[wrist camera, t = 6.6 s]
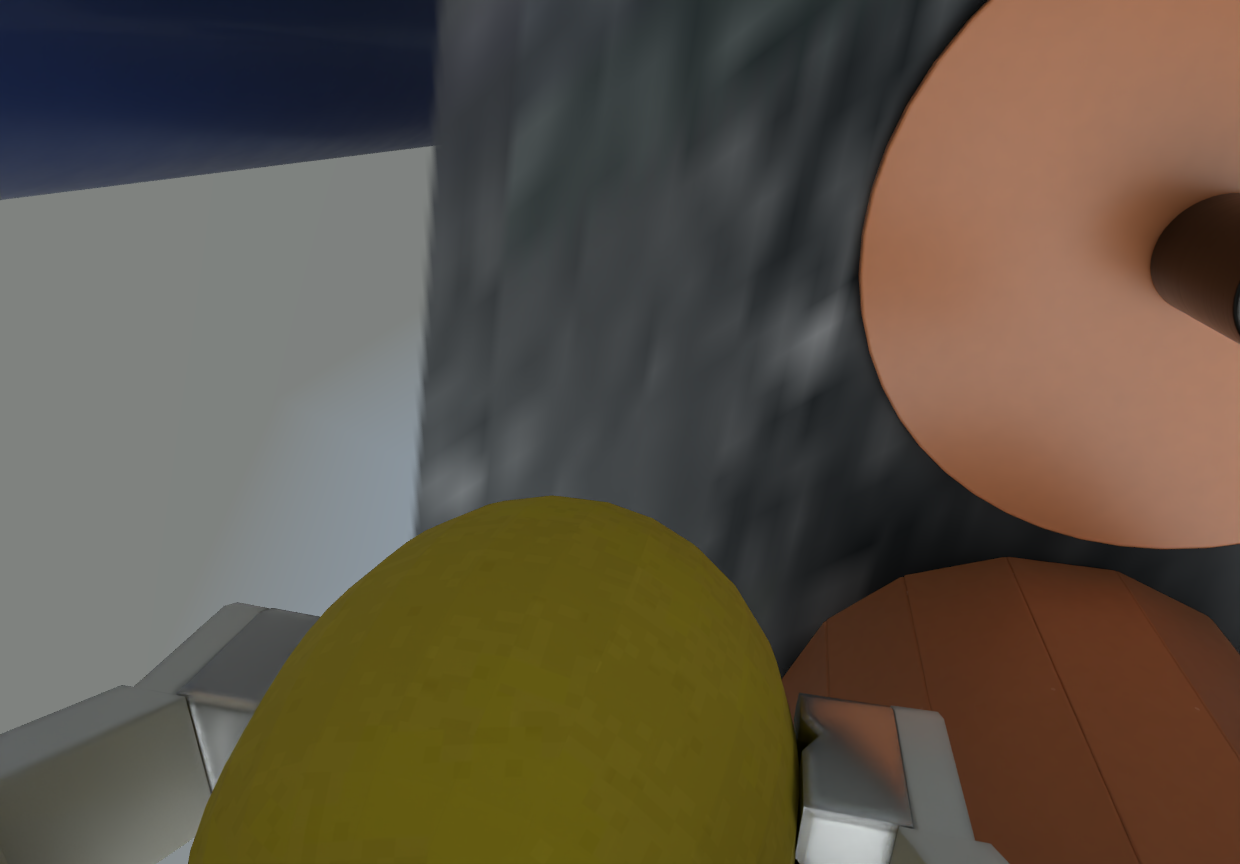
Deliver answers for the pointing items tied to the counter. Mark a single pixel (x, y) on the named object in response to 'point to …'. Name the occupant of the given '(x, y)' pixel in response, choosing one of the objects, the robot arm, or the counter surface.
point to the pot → (1055, 706)
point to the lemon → (520, 709)
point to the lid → (1070, 267)
